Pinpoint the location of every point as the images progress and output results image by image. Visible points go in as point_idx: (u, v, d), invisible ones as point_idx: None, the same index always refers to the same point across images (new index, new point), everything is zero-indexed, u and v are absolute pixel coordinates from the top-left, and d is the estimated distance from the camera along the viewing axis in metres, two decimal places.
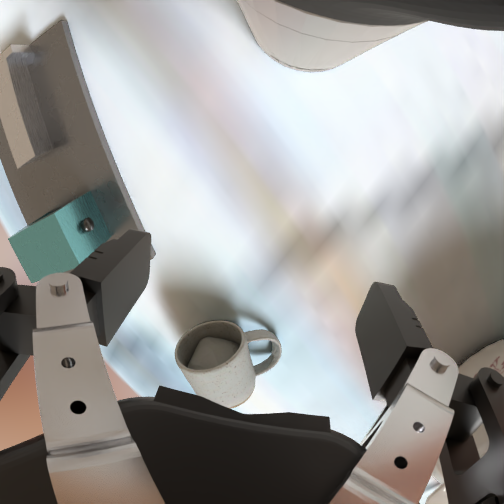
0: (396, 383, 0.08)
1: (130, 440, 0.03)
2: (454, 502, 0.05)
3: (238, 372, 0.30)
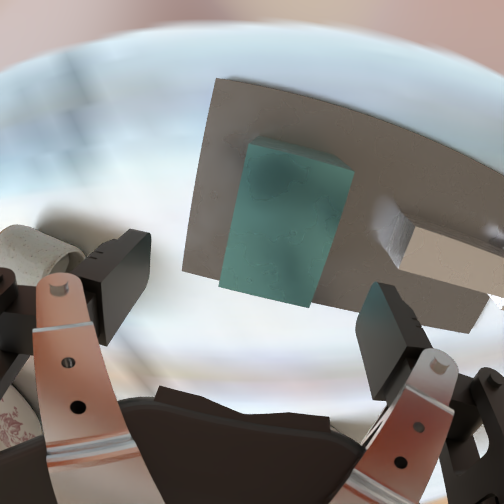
0: (396, 383, 0.08)
1: (130, 440, 0.03)
2: (454, 502, 0.05)
3: None
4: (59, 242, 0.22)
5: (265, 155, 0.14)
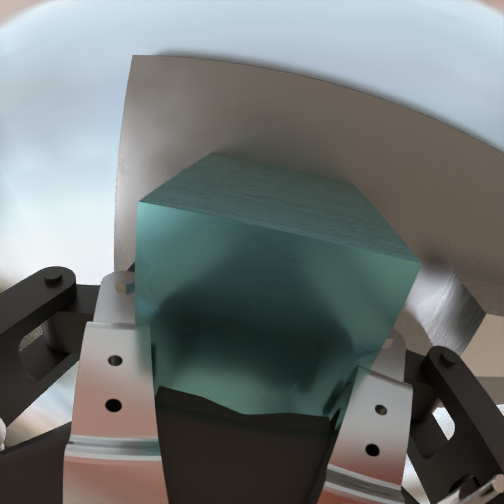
0: None
1: (156, 448, 0.03)
2: (429, 485, 0.05)
3: None
4: None
5: (183, 231, 0.05)
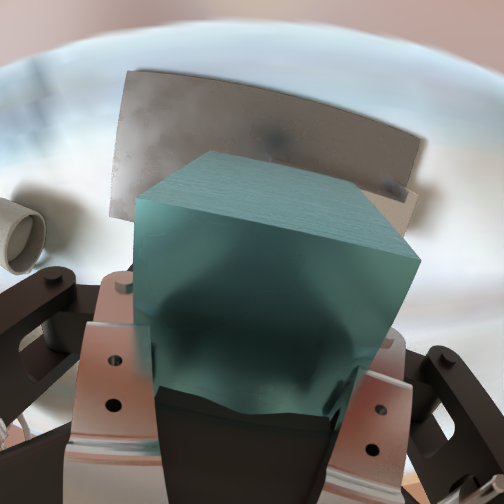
0: None
1: (156, 448, 0.03)
2: (429, 485, 0.05)
3: None
4: (24, 207, 0.28)
5: (182, 227, 0.05)
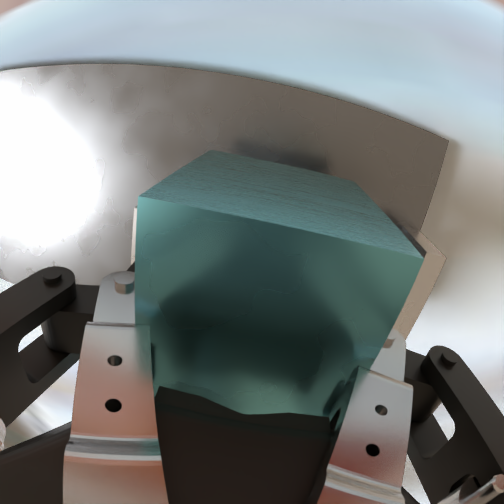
0: None
1: (156, 448, 0.03)
2: (429, 485, 0.05)
3: None
4: None
5: (184, 226, 0.05)
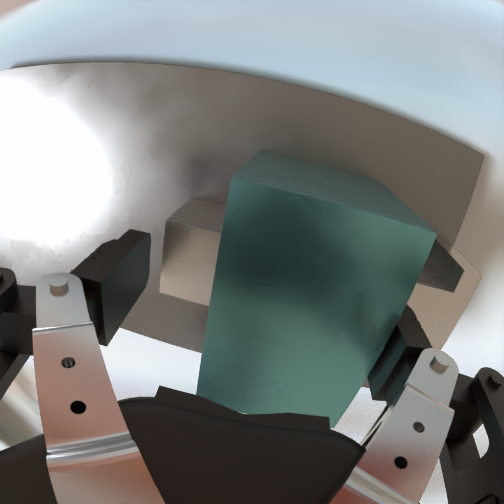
0: (396, 383, 0.08)
1: (130, 440, 0.03)
2: (454, 502, 0.05)
3: None
4: None
5: (266, 202, 0.07)
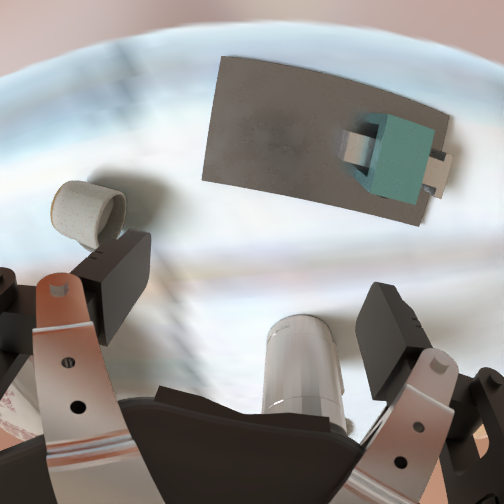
0: (396, 383, 0.08)
1: (130, 440, 0.03)
2: (454, 502, 0.05)
3: (86, 245, 0.34)
4: (109, 188, 0.34)
5: (396, 120, 0.25)
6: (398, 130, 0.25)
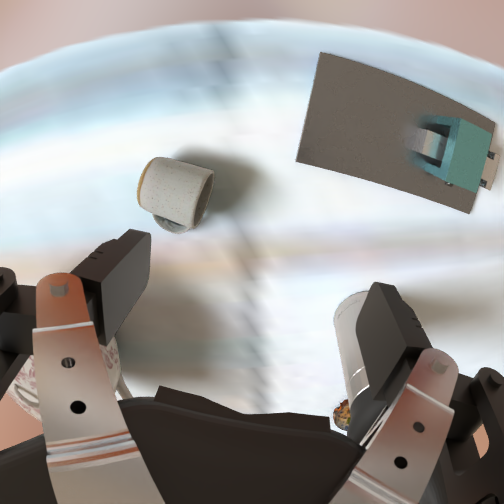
0: (396, 383, 0.08)
1: (130, 440, 0.03)
2: (454, 502, 0.05)
3: (176, 221, 0.37)
4: (202, 167, 0.37)
5: (466, 124, 0.28)
6: (467, 132, 0.28)
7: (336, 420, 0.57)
